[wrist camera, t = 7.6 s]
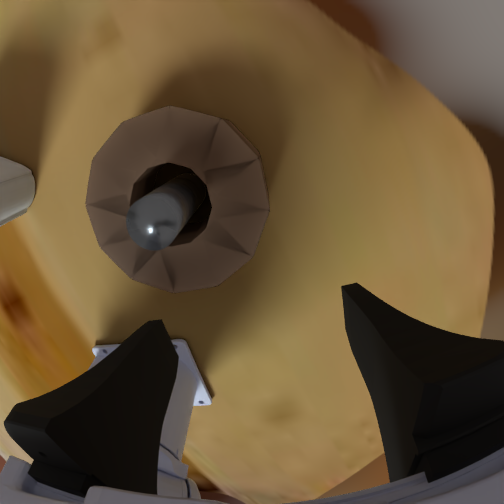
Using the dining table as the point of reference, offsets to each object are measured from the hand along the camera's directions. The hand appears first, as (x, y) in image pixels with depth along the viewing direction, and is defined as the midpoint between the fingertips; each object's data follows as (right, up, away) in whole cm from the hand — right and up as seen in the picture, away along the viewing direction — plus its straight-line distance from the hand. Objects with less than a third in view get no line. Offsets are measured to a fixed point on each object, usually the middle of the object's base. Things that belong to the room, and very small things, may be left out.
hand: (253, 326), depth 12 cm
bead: (-4, +7, +8) cm, 11 cm away
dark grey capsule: (-4, +7, +8) cm, 11 cm away
